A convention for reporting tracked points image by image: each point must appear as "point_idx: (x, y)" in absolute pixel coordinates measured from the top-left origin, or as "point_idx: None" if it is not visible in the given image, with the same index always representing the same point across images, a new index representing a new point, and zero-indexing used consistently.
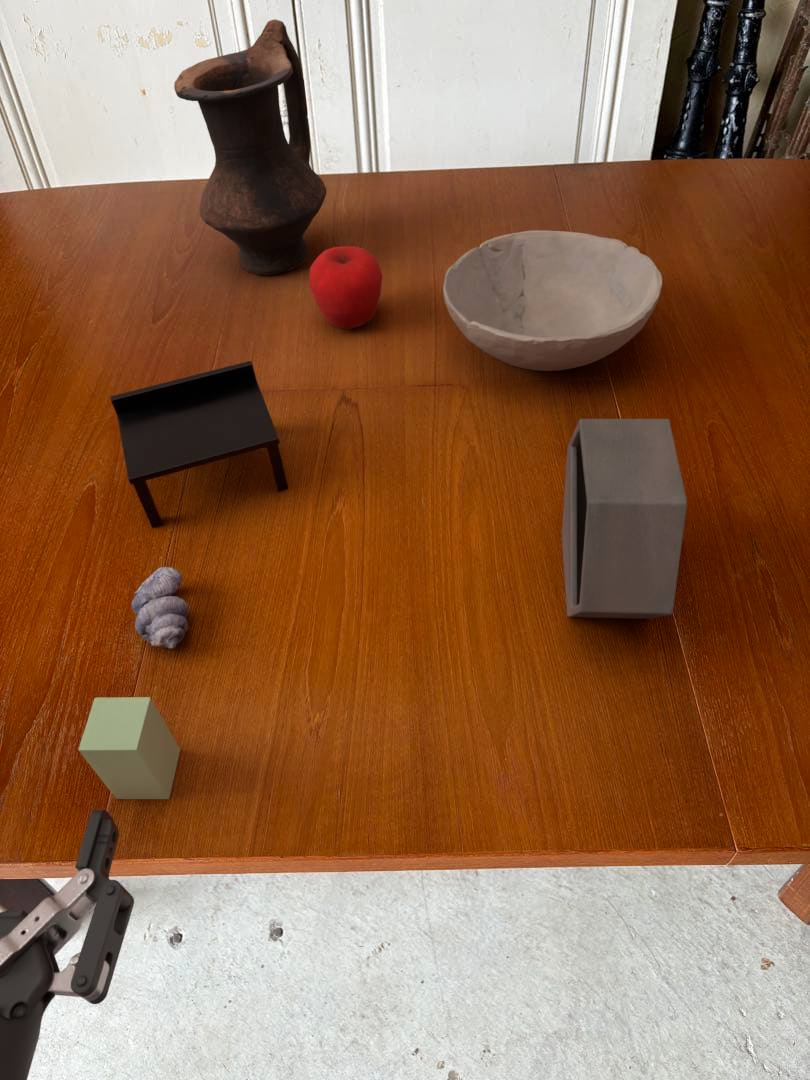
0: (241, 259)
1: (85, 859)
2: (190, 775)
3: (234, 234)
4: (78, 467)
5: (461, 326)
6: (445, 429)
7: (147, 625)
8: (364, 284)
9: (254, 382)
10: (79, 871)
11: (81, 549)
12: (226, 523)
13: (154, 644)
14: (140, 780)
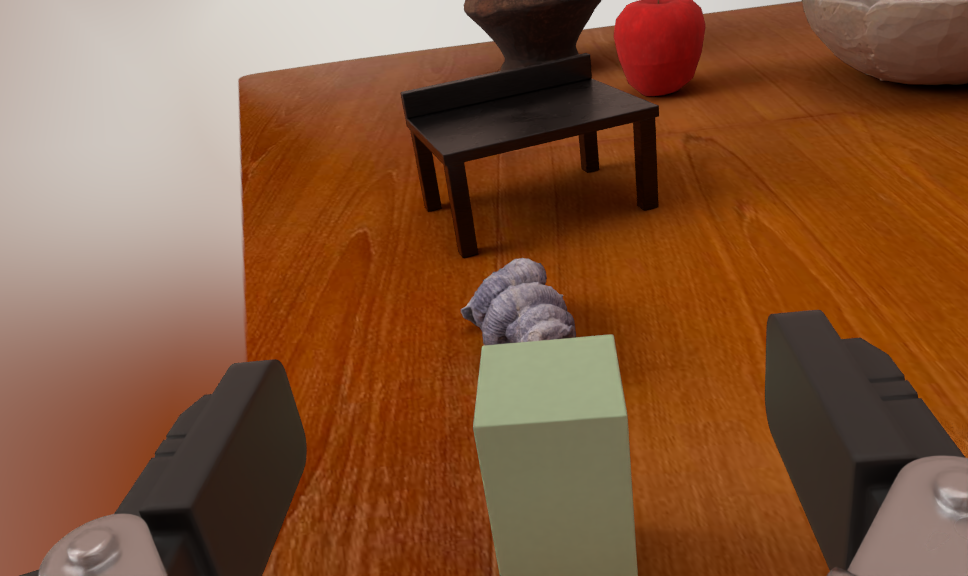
0: (507, 68)
1: (886, 433)
2: (671, 573)
3: (509, 19)
4: (339, 220)
5: (853, 20)
6: (858, 142)
7: (509, 323)
8: (691, 22)
9: (592, 80)
10: (907, 467)
11: (357, 287)
12: (578, 244)
13: None
14: (593, 549)
